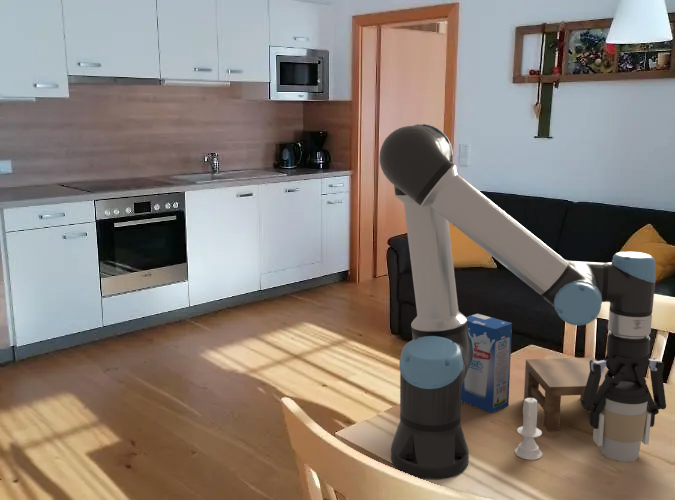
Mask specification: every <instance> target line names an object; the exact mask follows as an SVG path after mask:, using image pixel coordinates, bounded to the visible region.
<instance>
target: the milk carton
mask: <svg viewBox="0 0 675 500" xmlns="http://www.w3.org/2000/svg"><path fill="white" fill-rule="evenodd" d="M465 317H466V319H467V326H468V333H469V334H470V336H471V339H472V342H473V347H474V355H473V358H472V363H471V365H470V367H469V369H468V371H467V374H466V376H465V379H464V382H463V385H462V390H461V402H463V403H466V404H468V405H471V406H472V407H475V408H477V409H481V410H482V411H486V412H488V413H490V414H493V413H496V412H498V411H500V410H501V409H502V410H503V409H504V408H506V407H508V406H509V403H510V402H509V401H510V400H509V399H510V383H511V382H510V380H511V376H510V374H511V356H512V355H511V353H512V352H511V351H512V335H513V334H512V332H513V331H512V329H513V327H512V326H513V323H512V322H509V321H505V320H502V319H498V318H495V317H491V316H487V315H484V314H481V313H475V314H471V315H469V316H465Z"/></svg>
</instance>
